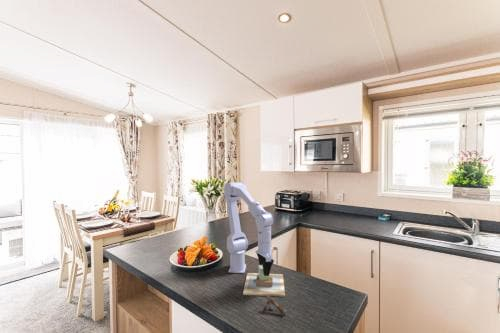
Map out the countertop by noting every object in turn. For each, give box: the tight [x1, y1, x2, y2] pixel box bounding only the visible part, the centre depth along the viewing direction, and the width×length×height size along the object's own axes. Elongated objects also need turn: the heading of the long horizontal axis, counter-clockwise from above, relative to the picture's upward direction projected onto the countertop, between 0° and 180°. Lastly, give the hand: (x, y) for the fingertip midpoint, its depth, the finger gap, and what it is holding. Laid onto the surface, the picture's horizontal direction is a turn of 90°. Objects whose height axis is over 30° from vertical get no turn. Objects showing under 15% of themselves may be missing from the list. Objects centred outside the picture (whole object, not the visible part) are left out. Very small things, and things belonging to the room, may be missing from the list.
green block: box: [257, 264, 269, 281], centre depth 106 cm, size 4×4×5 cm
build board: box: [242, 272, 286, 298], centre depth 106 cm, size 18×17×3 cm
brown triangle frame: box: [265, 296, 287, 317], centre depth 87 cm, size 2×8×4 cm, turn 52°
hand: (264, 271), depth 106 cm, fingers open, 7 cm apart
